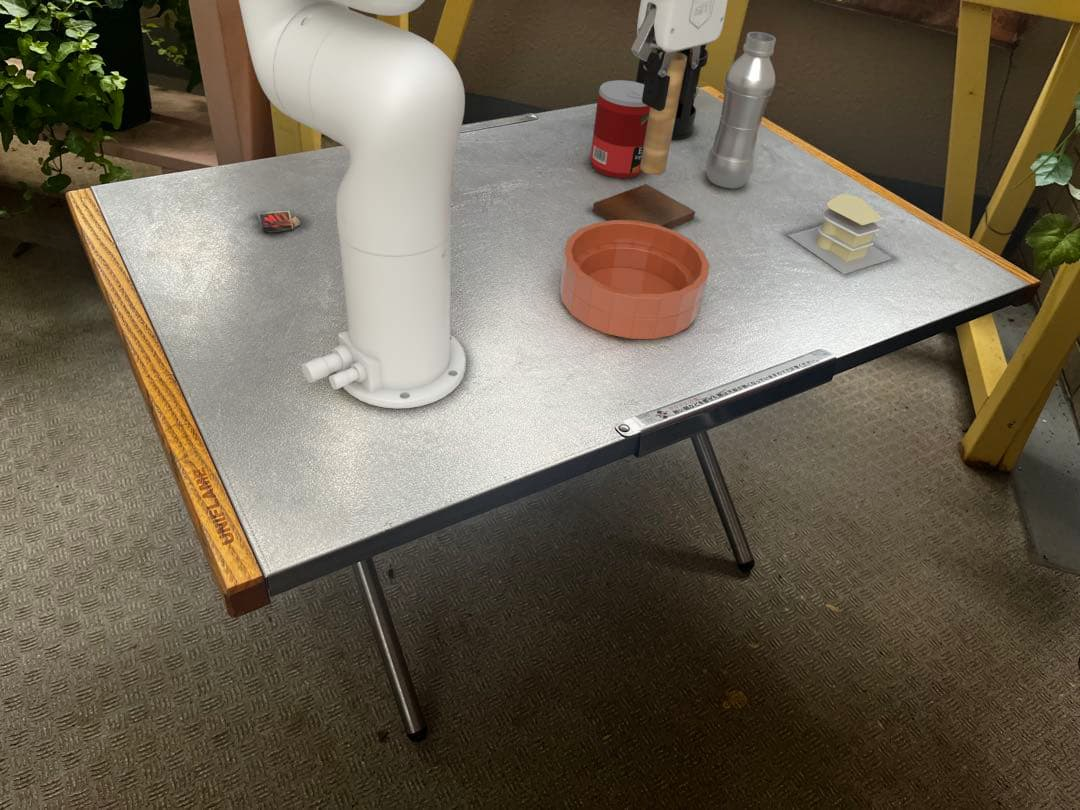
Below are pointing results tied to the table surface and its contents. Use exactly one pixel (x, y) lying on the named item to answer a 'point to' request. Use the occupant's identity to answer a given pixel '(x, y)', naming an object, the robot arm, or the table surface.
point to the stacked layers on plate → (845, 235)
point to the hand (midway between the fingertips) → (664, 101)
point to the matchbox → (277, 221)
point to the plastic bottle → (742, 112)
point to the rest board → (644, 207)
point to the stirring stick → (663, 121)
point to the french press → (684, 111)
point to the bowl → (633, 279)
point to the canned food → (619, 129)
